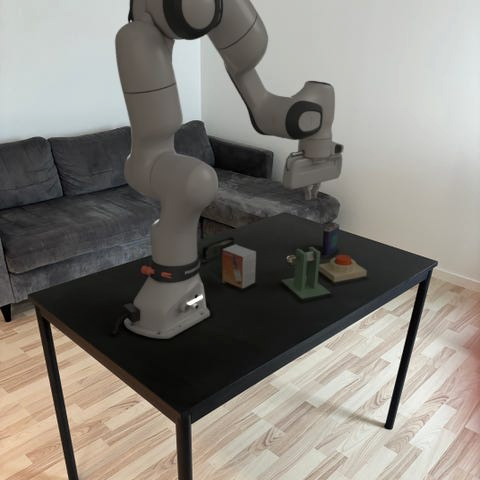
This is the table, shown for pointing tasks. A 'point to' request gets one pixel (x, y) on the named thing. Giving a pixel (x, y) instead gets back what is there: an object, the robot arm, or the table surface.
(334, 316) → the table surface
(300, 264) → the switch bracket
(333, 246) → the flask
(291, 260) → the lever
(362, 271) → the button housing
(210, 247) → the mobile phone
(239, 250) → the small box
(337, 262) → the button
